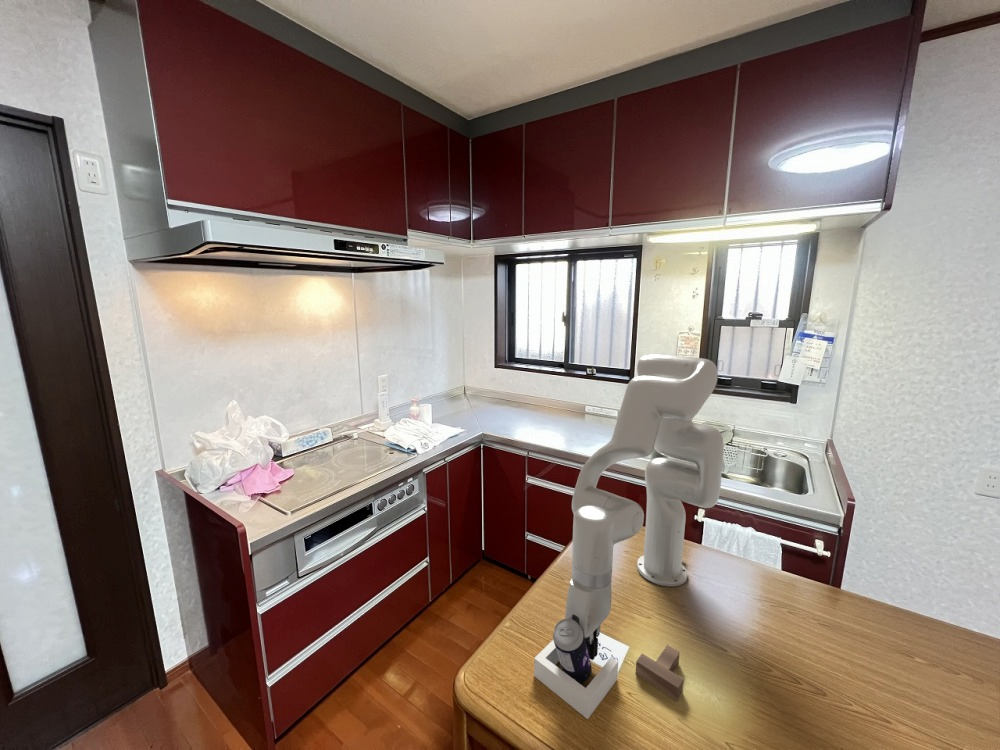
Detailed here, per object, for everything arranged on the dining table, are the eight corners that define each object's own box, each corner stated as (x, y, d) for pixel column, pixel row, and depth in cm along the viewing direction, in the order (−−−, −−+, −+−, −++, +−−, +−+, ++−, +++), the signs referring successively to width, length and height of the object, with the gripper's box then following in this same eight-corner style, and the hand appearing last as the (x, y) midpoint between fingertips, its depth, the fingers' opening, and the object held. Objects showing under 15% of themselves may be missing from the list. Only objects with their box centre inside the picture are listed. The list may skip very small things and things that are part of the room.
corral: (565, 643, 86) (565, 627, 85) (617, 679, 78) (618, 661, 77) (534, 675, 78) (534, 658, 78) (587, 719, 70) (588, 699, 69)
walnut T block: (652, 649, 84) (653, 637, 84) (693, 673, 79) (694, 660, 78) (635, 674, 79) (636, 661, 78) (677, 702, 73) (678, 687, 73)
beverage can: (592, 688, 75) (582, 648, 70) (562, 686, 77) (550, 646, 72) (592, 656, 80) (583, 616, 75) (563, 654, 82) (553, 615, 77)
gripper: (595, 546, 85) (591, 622, 89) (552, 580, 75) (550, 666, 78) (628, 561, 80) (623, 642, 83) (587, 601, 70) (583, 691, 73)
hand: (588, 653), depth 81 cm, fingers closed
